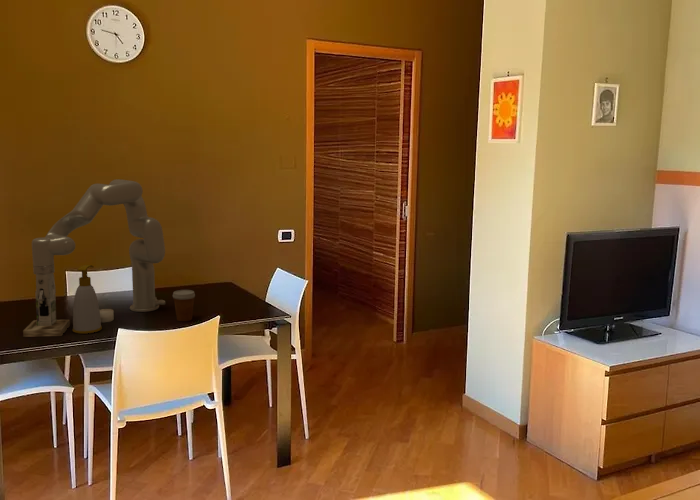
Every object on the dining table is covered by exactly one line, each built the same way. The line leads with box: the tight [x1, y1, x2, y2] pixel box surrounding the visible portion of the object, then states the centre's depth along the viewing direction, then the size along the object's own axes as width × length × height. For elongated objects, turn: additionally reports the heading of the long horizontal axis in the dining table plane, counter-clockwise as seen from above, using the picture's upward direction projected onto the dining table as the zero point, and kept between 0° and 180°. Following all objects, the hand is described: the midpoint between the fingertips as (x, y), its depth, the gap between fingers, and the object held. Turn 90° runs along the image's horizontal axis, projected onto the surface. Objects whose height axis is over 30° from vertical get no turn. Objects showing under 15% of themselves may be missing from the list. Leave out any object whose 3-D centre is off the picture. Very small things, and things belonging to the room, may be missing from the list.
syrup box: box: [34, 287, 57, 326], centre depth 270 cm, size 6×6×14 cm
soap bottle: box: [72, 264, 103, 335], centre depth 271 cm, size 11×12×26 cm
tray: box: [22, 319, 71, 338], centre depth 271 cm, size 14×14×2 cm
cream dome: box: [99, 308, 115, 323], centre depth 288 cm, size 7×7×4 cm
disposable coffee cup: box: [172, 289, 196, 322], centre depth 291 cm, size 10×10×12 cm
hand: (46, 313), depth 270 cm, fingers closed on syrup box, 5 cm apart
